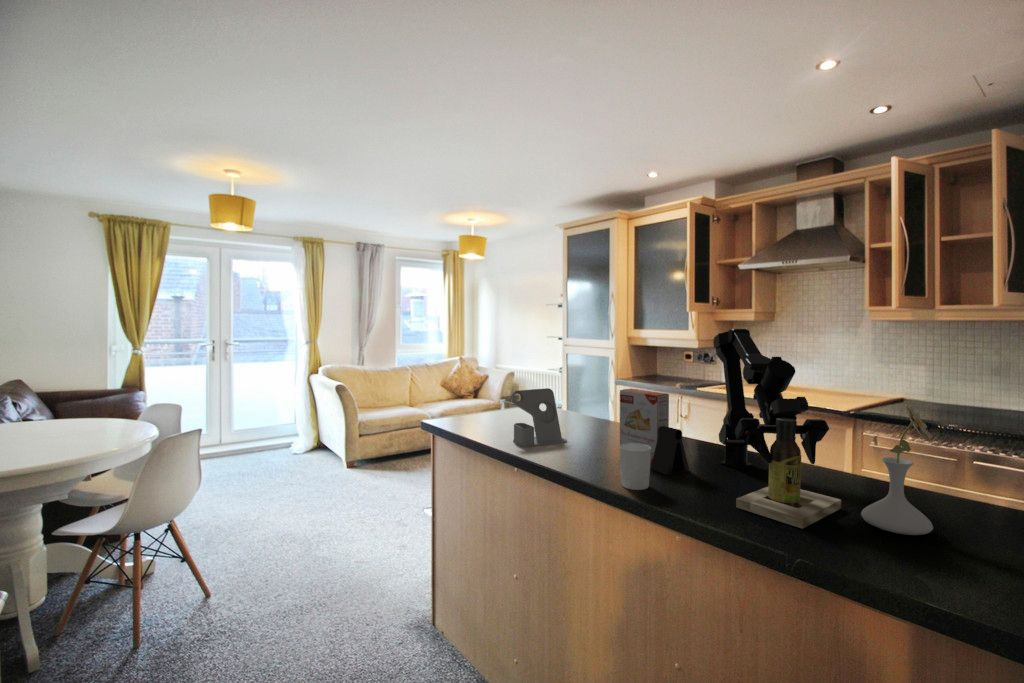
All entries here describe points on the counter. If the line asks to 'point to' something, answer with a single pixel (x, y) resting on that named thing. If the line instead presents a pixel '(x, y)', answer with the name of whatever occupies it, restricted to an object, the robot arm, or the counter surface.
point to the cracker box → (642, 416)
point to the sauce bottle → (785, 465)
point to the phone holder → (537, 419)
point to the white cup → (635, 465)
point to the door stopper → (669, 452)
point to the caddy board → (790, 507)
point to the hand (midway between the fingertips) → (791, 463)
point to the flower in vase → (899, 491)
